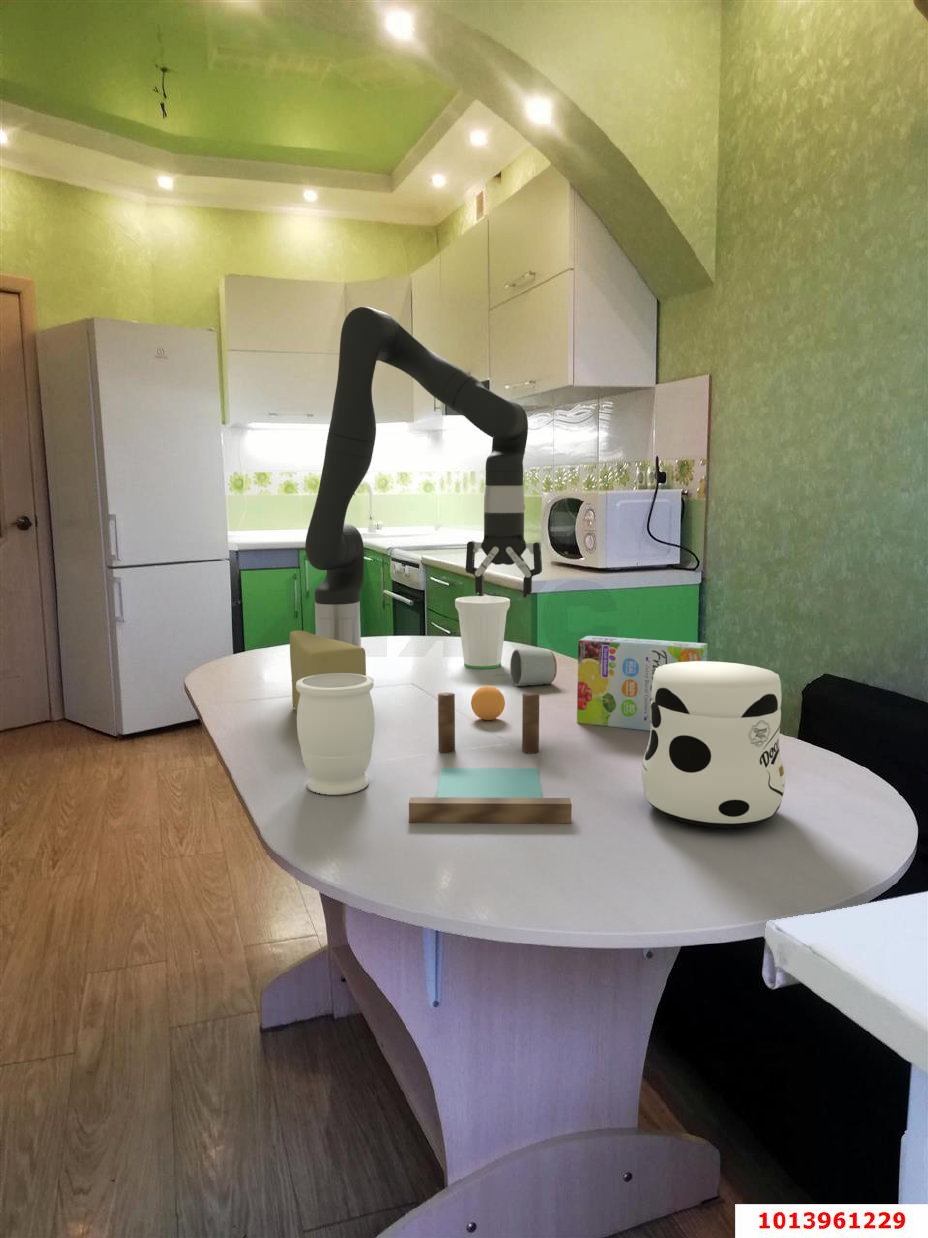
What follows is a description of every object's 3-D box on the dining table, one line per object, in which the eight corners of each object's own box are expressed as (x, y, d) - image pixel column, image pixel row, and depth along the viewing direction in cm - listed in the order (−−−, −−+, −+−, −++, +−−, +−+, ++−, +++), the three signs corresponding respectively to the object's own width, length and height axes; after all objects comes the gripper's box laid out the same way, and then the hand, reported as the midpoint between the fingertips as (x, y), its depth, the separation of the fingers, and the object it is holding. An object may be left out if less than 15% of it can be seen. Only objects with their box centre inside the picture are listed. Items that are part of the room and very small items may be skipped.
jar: (388, 778, 123) (386, 674, 120) (355, 803, 113) (353, 691, 111) (321, 770, 126) (318, 669, 124) (284, 794, 116) (280, 685, 114)
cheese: (270, 711, 159) (267, 631, 157) (320, 704, 164) (318, 626, 162) (314, 741, 141) (311, 651, 138) (369, 732, 146) (367, 645, 143)
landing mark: (435, 804, 112) (435, 803, 112) (441, 769, 126) (441, 768, 126) (543, 805, 112) (543, 803, 112) (536, 769, 126) (536, 768, 126)
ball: (470, 724, 150) (470, 690, 149) (471, 714, 156) (471, 682, 155) (505, 724, 150) (505, 690, 149) (504, 715, 156) (504, 682, 155)
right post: (522, 753, 133) (522, 696, 132) (521, 748, 136) (522, 692, 135) (539, 753, 133) (539, 696, 132) (538, 748, 136) (538, 692, 135)
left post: (438, 753, 134) (437, 696, 132) (438, 748, 136) (438, 692, 135) (454, 753, 134) (454, 696, 132) (455, 748, 136) (454, 692, 135)
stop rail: (409, 822, 106) (408, 803, 106) (410, 816, 108) (410, 797, 108) (571, 823, 106) (571, 803, 106) (569, 817, 108) (570, 798, 108)
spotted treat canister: (813, 830, 104) (822, 684, 101) (685, 847, 99) (691, 694, 96) (730, 782, 120) (736, 656, 117) (617, 795, 115) (620, 664, 112)
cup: (447, 668, 195) (446, 601, 192) (467, 658, 206) (467, 594, 204) (498, 672, 190) (499, 604, 188) (516, 662, 201) (517, 597, 199)
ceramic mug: (558, 687, 177) (559, 650, 176) (521, 689, 174) (521, 652, 173) (539, 677, 187) (539, 642, 186) (504, 679, 184) (504, 644, 183)
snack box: (705, 729, 146) (708, 642, 144) (699, 738, 141) (703, 648, 139) (584, 716, 155) (586, 633, 153) (575, 723, 150) (576, 638, 148)
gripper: (462, 510, 159) (462, 598, 161) (540, 511, 156) (538, 600, 159) (470, 509, 166) (470, 593, 168) (544, 509, 163) (543, 594, 166)
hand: (503, 596), depth 163 cm, fingers open, 8 cm apart
